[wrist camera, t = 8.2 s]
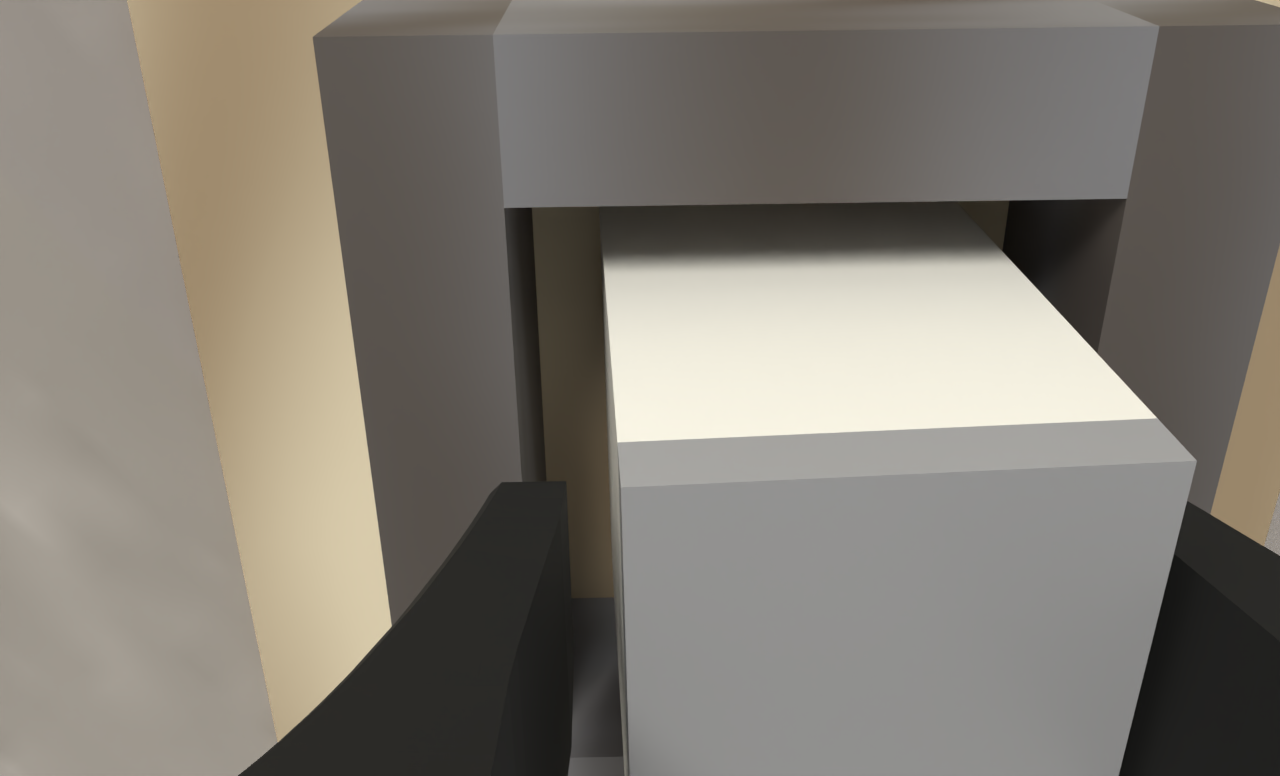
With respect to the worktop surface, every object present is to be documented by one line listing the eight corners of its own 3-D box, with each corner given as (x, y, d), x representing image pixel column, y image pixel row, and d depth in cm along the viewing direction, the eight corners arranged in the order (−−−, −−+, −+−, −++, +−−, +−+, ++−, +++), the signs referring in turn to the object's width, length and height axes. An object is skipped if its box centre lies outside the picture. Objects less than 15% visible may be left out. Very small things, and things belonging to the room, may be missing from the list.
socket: (1446, -203, 12) (1739, -207, 9) (1189, 731, 18) (1311, 927, 15) (108, -189, 12) (-73, -189, 9) (292, 750, 18) (222, 951, 15)
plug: (943, 188, 13) (1197, 461, 8) (905, 541, 16) (1078, 934, 10) (598, 200, 13) (620, 488, 8) (611, 556, 15) (635, 962, 10)
